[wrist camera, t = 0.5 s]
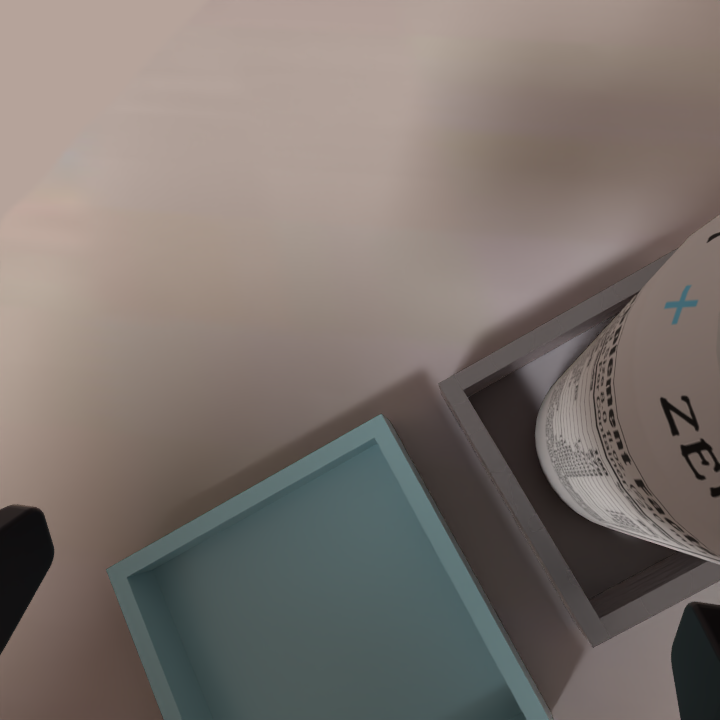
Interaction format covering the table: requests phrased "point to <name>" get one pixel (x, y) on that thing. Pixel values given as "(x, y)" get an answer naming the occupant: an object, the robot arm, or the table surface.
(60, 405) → the table surface
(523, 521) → the open box
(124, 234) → the table surface
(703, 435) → the energy drink can
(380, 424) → the tray
